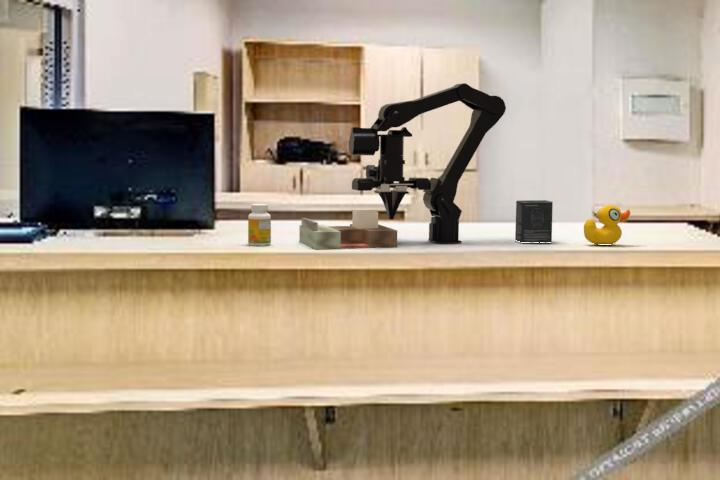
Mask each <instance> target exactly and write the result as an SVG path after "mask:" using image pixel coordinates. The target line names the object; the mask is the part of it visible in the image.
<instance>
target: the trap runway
mask: <svg viewBox="0 0 720 480" xmlns="http://www.w3.org/2000/svg"><path fill="white" fill-rule="evenodd" d="M300 220H301V224H300V225H299V239H298V240H299V241H298V242H300V243H301V244H304V245H306V246H308V247H310V248H312V249H314V250H336V249H337V250H339V249H340V250H341V248H348V249H375V248H376V249H377V248H379V249H381V248H385V249H386V248H397V247H398V230H397V229H395V228H391V227H388V226H384V225H381V224H379V223H378V228H367V229H358V228H355V227H352V224H351V223H350V224H349V225H339V226H338V225H334V226H333V225H331V226H330V225H329V226H328V225H325V224H318V221H315V220H313V219H309V218H307V217H301V219H300Z"/></svg>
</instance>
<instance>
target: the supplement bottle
mask: <svg viewBox="0 0 720 480" xmlns="http://www.w3.org/2000/svg"><path fill="white" fill-rule="evenodd" d="M250 210H251V213H249V214H248V217H247V222H248V223H247V229H248V230H247V234H248V235H247V236H248V239H247V243H248V245H249V246H252V247H254V246H255V247H266V246H271V242H272V230H271V229H272V216H271V214H270V213H268V210H269V205H268V204H267V203H252V204H251V206H250Z"/></svg>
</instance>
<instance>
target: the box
mask: <svg viewBox="0 0 720 480" xmlns="http://www.w3.org/2000/svg"><path fill="white" fill-rule="evenodd" d="M553 204H554V203H553V201H550V200H545V199H544V200H542V199H541V200H539V199H538V200H537V199H536V200H532V199H531V200H527V199H526V200H516V203H515V205H516V206H515V237H514V238H515V240H517V241H520V242H539V243H538V244H541V243H540V242H552V243H553V241H552V237H553V234H552V233H553V207H554V206H553Z"/></svg>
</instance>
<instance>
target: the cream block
mask: <svg viewBox="0 0 720 480" xmlns="http://www.w3.org/2000/svg"><path fill="white" fill-rule="evenodd" d="M351 218H352V221H351V222H352V227H355V228H358V229H367V228H378V224H379V211H377V210H374V209H362V210H361V209H359V210H358V209H357V210H356V209H353V210H352V217H351Z"/></svg>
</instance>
